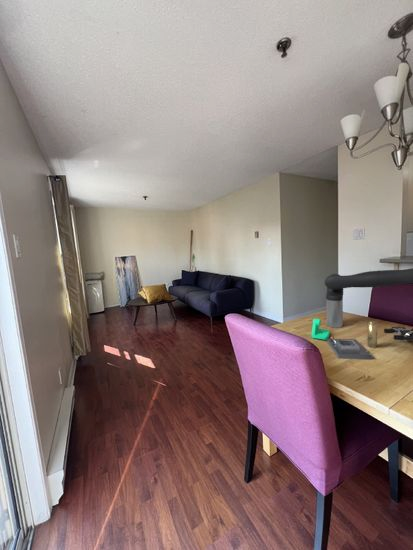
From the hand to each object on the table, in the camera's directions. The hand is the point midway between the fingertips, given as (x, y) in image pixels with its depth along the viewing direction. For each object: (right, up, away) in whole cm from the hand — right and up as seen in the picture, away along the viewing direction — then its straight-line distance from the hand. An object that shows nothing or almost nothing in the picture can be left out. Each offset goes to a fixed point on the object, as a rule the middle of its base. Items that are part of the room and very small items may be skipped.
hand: (389, 334), depth 114 cm
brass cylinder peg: (-7, -7, +2) cm, 10 cm away
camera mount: (-24, -7, +19) cm, 31 cm away
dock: (-21, -8, 0) cm, 22 cm away
